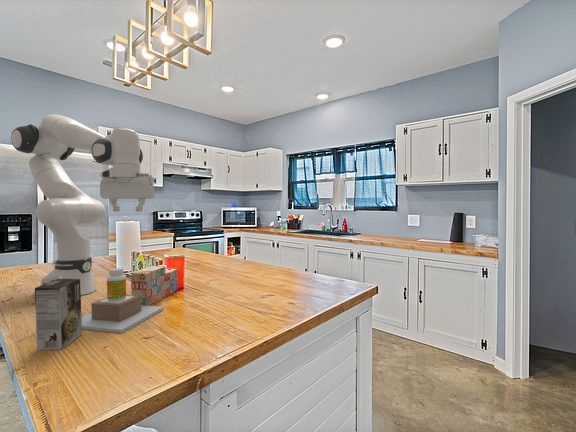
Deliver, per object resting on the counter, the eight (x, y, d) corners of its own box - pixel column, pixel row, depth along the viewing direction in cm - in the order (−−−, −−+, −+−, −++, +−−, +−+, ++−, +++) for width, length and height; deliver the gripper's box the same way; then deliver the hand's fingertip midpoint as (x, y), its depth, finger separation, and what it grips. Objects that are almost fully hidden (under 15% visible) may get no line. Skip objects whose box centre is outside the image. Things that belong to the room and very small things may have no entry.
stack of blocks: (164, 289, 134) (164, 261, 133) (178, 290, 133) (177, 261, 132) (131, 305, 113) (130, 272, 112) (146, 306, 112) (146, 272, 111)
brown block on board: (63, 327, 93) (63, 306, 93) (114, 305, 112) (113, 288, 112) (122, 333, 89) (121, 311, 89) (163, 309, 108) (163, 292, 108)
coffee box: (58, 335, 87) (57, 278, 87) (82, 334, 88) (81, 278, 87) (35, 350, 78) (33, 287, 78) (62, 349, 79) (60, 286, 78)
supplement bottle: (111, 302, 97) (110, 271, 96) (104, 299, 100) (104, 269, 100) (129, 298, 101) (128, 268, 100) (122, 295, 104) (121, 266, 104)
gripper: (157, 173, 114) (158, 211, 114) (109, 174, 118) (110, 211, 118) (146, 171, 107) (147, 211, 108) (96, 172, 111) (97, 211, 112)
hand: (127, 211), depth 113 cm, fingers open, 8 cm apart
